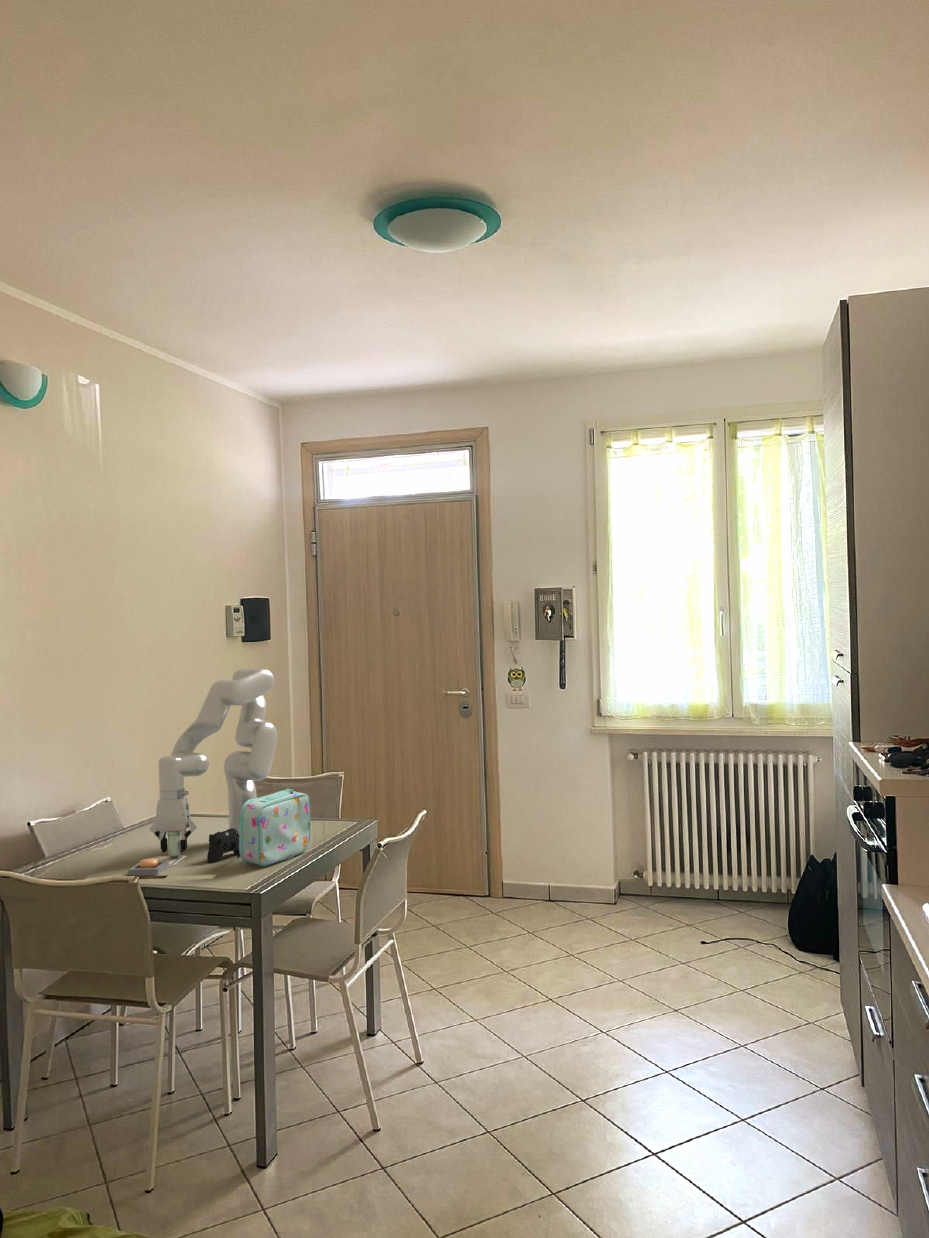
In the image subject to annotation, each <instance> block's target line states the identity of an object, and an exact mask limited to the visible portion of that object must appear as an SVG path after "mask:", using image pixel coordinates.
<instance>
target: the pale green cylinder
mask: <svg viewBox="0 0 929 1238" xmlns="http://www.w3.org/2000/svg"><path fill="white" fill-rule="evenodd" d="M180 838H181V835H180V832H179V831H167V844H168V850H167V851H168V855H167V856H170V859H178V858H179V856H181V851H180V840H181V839H180Z"/></svg>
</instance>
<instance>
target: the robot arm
mask: <svg viewBox="0 0 929 1238" xmlns="http://www.w3.org/2000/svg"><path fill="white" fill-rule="evenodd" d="M274 685H275V677H274V674H273V673H272V672H271V670H269V669H266V668H240V669H237V670H235V672H234V673H233V674H232V678H231V679H221V680H217V681H214V682H213V683H212V684H211V686H210V688H209V690H208V693H207V695H206V698H205V699H204V701H203V704H202V705H201V708H200V711H199V713H198V715H197V717H196V719H195V720H194V721H193V722H192V723H191V724H190V725H189V726H188V727H187V728H186V729H185V730H184V732H183V733H182V734H180V736H179V738H177V741H176V743H175V745H174V747H173V749H172V751H171V753H170V755H166V756H162V757H160V758H159V759H158V782H159V783H158V784H159V785H158V787H159V799H157V804H156V812H155V821H154V823H153V824H152V825H151V826H150V828H149V831H150V832H151V833H153V834H154V836H156V837H157V838H158V840H159V842H160V850H161V853H162V854H163V853H166V852H167V851H168V837H167V835H168V833H167V831H179V832H180V838H181V839H180V853H184V852H186V851H187V849H188V838H189V837H190V836H191V834H192V833H193V832H194V831H196V830H197V825H196V824H195V823H194V822H193V821H192V820H191V819H192V818H191V809H190V805H189V801H188V798H187V797H186V796H188V795H189V790H186V788H185V781H184V780H185V779H184V778H185V777H187V778H188V777H199V776H202V775H203V774H205V773H206V772H207V771H208V769H209V766H210V762H209V759H208V758H207V756H206V755H204V754H202V753H201V752H200V753H199V752H195V750H196V748H197V747H198V746H199V745H200V743H201V742H203V741H204V740H205V739H206V738H208V737H210V736H212V735H215V734H216V733H217V732H219V731H220V730H221V729H222V727H223V724H224V722H225V720H226V718H227V716H228V713H229V710H230V708H231V706H241V708H240V714H239V716H238V717H239V719H238V723H237V725H236V731H235V742H236V744H237V745H238V746H239V747H242V748H246V749H251V750H250V751H244V750H238V751H237V750H236V751H233V752H231V753H229V754H228V755H226V758H225V759H224V764H223V771H224V775H225V779H226V785H227V806H228V807H227V808H228V829H230V828H235V829H236V830H237V831H238V833H239V835H240V811H241V808H242V806H243V804H244V803H245V802H246V801H248V800H250V799H255V798H258V797H257V788H256V783H255V782H260V781H263V780H265V779H266V778H267V777H268V776H269V775H270V772H271V770H272V766H273V763H274V762H273V761H274V757H275V753H276V748H277V745H278V730H277V729H276V726H275V725H274V724H273V723H272V722H270V721H266V720H265V719H266V713H267V701H266V699H265V695H266V694H268V693H270V692H271V690H272V689H273V687H274ZM187 829H188V830H187Z"/></svg>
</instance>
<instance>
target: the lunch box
mask: <svg viewBox="0 0 929 1238" xmlns="http://www.w3.org/2000/svg"><path fill="white" fill-rule="evenodd" d="M311 809H312V807H311V799H310V797H309V795H308V794H306V793H303V792H297V791H294V789H291V788H286V789H285V790H284V789H283V790H279V791H277V792H274V793H271V794H267V795H264V796H261V797H257V798H255V799H250V800H248V801H246V802H245V803H244V804H243V806H242V808H241V811H240V837H239V853H240V857H239V858H240V859H241V860H242V862H243V863H245V864H253V865H258V866H262V867H267V866H271V865H272V864H275V863H278V862H281V861H285V860H287V859H288V860H289V859H292V858H294V857H295V856H298V855H301V854H303V853H305V851H306V850H307V848H308V846H309V844H310V839H311V820H312V819H311V818H312V817H311V814H312V813H311V812H312V811H311Z"/></svg>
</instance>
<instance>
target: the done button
mask: <svg viewBox="0 0 929 1238" xmlns="http://www.w3.org/2000/svg"><path fill="white" fill-rule="evenodd" d="M139 862H140V868H154V867H157V866H158V859H156V858H152V857H150V858H143V859H141V860H139Z"/></svg>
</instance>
